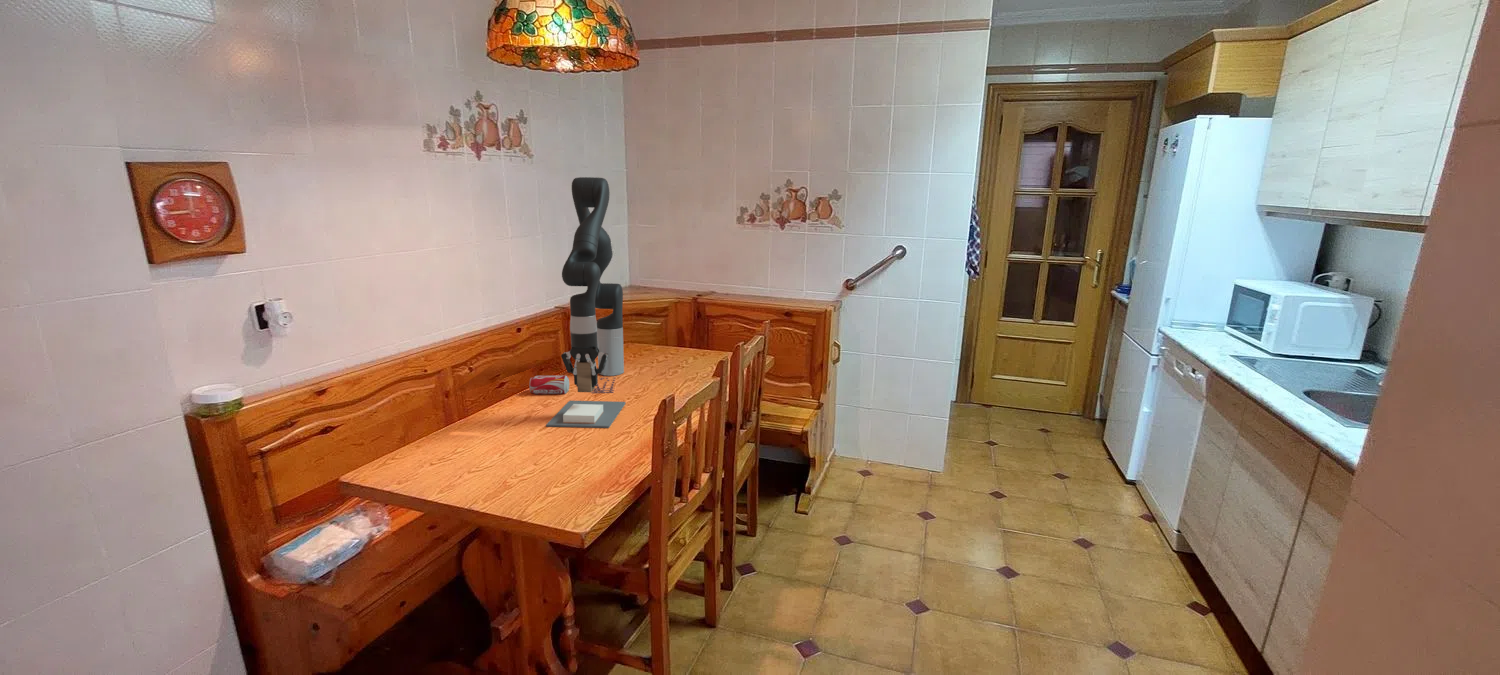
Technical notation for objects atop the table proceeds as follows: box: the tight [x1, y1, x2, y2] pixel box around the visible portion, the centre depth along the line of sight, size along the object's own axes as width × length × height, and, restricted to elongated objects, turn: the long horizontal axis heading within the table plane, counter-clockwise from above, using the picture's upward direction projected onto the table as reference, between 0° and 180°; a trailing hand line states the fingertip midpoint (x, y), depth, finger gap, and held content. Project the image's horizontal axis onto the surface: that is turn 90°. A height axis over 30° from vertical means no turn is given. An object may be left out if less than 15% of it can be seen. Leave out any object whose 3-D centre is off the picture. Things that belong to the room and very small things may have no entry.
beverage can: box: [528, 375, 570, 395], centre depth 202 cm, size 6×6×12 cm
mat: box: [545, 400, 626, 429], centre depth 183 cm, size 22×18×1 cm
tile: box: [563, 404, 603, 424], centre depth 179 cm, size 2×9×10 cm
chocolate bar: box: [591, 375, 616, 394], centre depth 212 cm, size 7×19×2 cm, turn 7°
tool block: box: [576, 362, 596, 393], centre depth 180 cm, size 4×4×9 cm
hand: (586, 386), depth 181 cm, fingers closed on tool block, 4 cm apart
